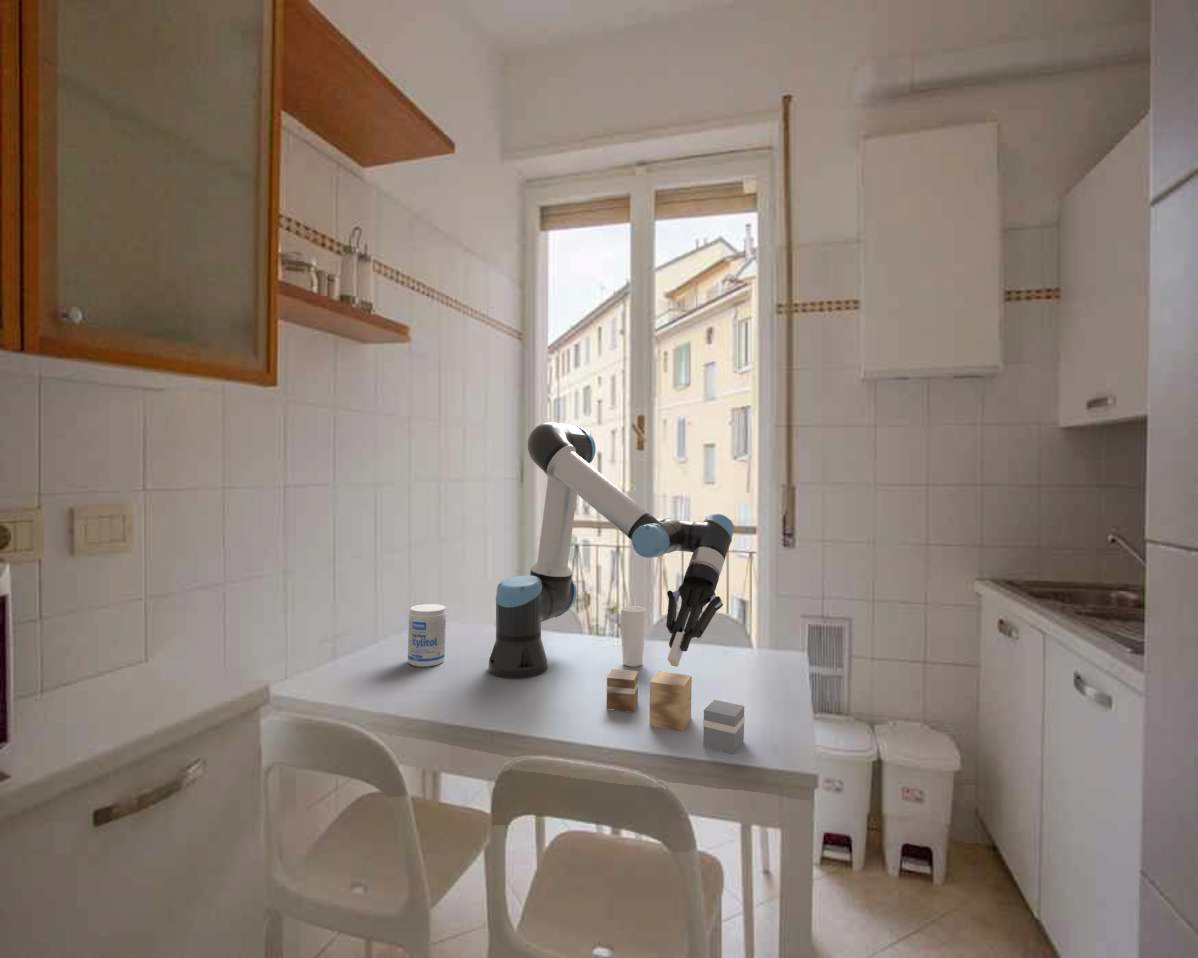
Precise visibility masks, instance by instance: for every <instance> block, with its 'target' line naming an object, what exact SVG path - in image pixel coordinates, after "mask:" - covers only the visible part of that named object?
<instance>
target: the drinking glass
mask: <svg viewBox="0 0 1198 958" xmlns="http://www.w3.org/2000/svg"><path fill="white" fill-rule="evenodd" d="M646 627H647V611H646V608H645V607H643V606H638V605H627V606H622V607H621V608H620V633H621V648H622V664H623V665H624V666H627V667H633V668H636V667H640V666H641V665H643V657H644V646H645V636H646Z"/></svg>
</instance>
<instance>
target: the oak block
mask: <svg viewBox="0 0 1198 958" xmlns="http://www.w3.org/2000/svg"><path fill="white" fill-rule="evenodd" d="M692 678H693V677H692V675H688V674H681V673H674V672H667V671H658V672H657V674H656V675H655V676H653V677H652V679H651V680H650V681H649V726H650V725H652V726H651V727H656V728H661V727H662V729H667V730H673V731H679V732H684V730H685V729H686V727H687V725H688V724H689V722H690V721H691V718H692V684H693V683H692V681H693V680H692Z"/></svg>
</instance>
